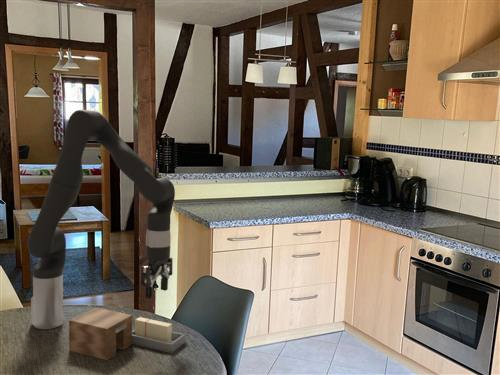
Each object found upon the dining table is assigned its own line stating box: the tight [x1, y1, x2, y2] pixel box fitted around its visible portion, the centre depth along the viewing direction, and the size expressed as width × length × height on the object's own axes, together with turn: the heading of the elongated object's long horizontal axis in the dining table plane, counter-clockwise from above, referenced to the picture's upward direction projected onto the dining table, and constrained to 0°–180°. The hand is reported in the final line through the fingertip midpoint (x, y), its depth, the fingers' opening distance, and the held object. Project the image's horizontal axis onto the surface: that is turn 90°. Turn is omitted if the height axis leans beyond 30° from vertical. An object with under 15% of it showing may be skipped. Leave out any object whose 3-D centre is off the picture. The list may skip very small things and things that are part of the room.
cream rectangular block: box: [134, 316, 173, 343], centre depth 155 cm, size 12×3×6 cm, turn 68°
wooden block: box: [68, 306, 133, 361], centre depth 149 cm, size 15×12×10 cm
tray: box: [131, 329, 186, 354], centre depth 155 cm, size 16×8×3 cm, turn 68°
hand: (156, 293), depth 153 cm, fingers open, 8 cm apart
